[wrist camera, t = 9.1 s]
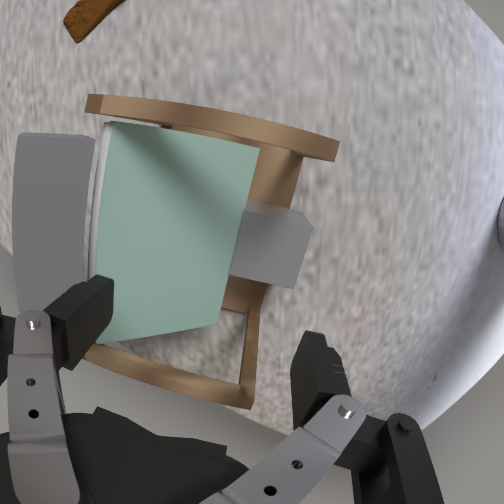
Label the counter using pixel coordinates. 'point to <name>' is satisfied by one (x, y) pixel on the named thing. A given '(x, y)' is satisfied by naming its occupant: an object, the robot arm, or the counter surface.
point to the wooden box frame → (262, 189)
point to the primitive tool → (87, 16)
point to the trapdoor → (131, 222)
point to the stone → (270, 244)
